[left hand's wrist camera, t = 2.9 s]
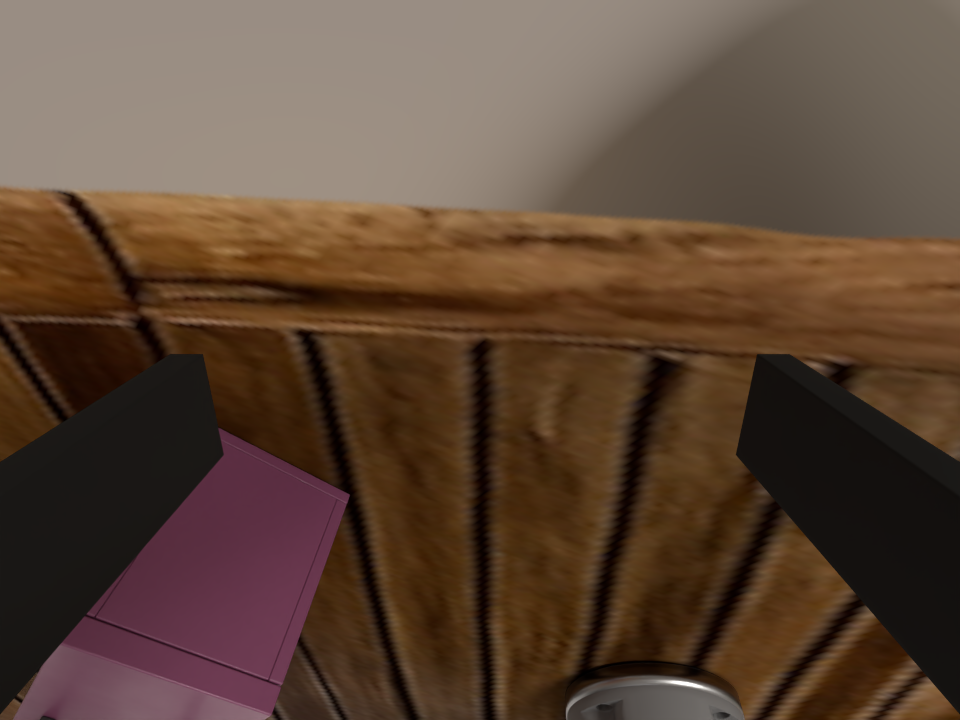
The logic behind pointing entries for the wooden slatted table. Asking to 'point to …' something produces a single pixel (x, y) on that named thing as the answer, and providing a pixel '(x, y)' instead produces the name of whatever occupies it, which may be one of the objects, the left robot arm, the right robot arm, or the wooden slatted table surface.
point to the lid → (139, 682)
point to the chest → (233, 564)
